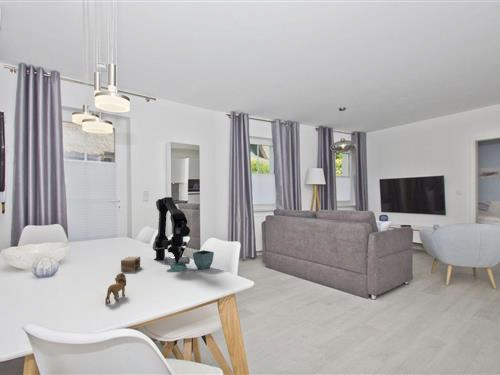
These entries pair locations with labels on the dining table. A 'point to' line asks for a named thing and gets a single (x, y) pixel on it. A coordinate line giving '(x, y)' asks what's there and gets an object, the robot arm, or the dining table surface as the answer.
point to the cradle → (178, 267)
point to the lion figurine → (116, 287)
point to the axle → (172, 261)
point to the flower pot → (203, 259)
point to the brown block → (130, 263)
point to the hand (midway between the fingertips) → (178, 261)
